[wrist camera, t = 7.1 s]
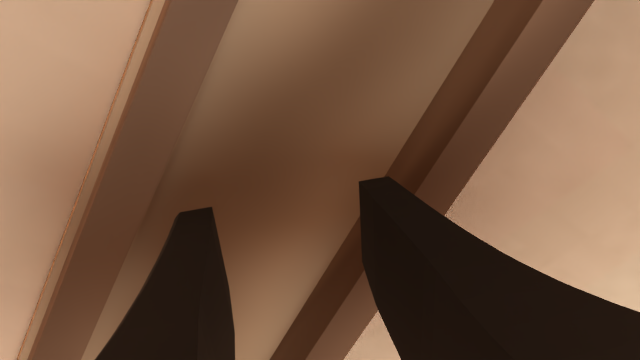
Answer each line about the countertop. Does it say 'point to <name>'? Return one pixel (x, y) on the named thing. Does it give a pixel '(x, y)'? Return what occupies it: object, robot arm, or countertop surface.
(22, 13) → the countertop surface
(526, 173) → the countertop surface
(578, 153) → the countertop surface
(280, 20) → the rack
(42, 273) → the countertop surface
